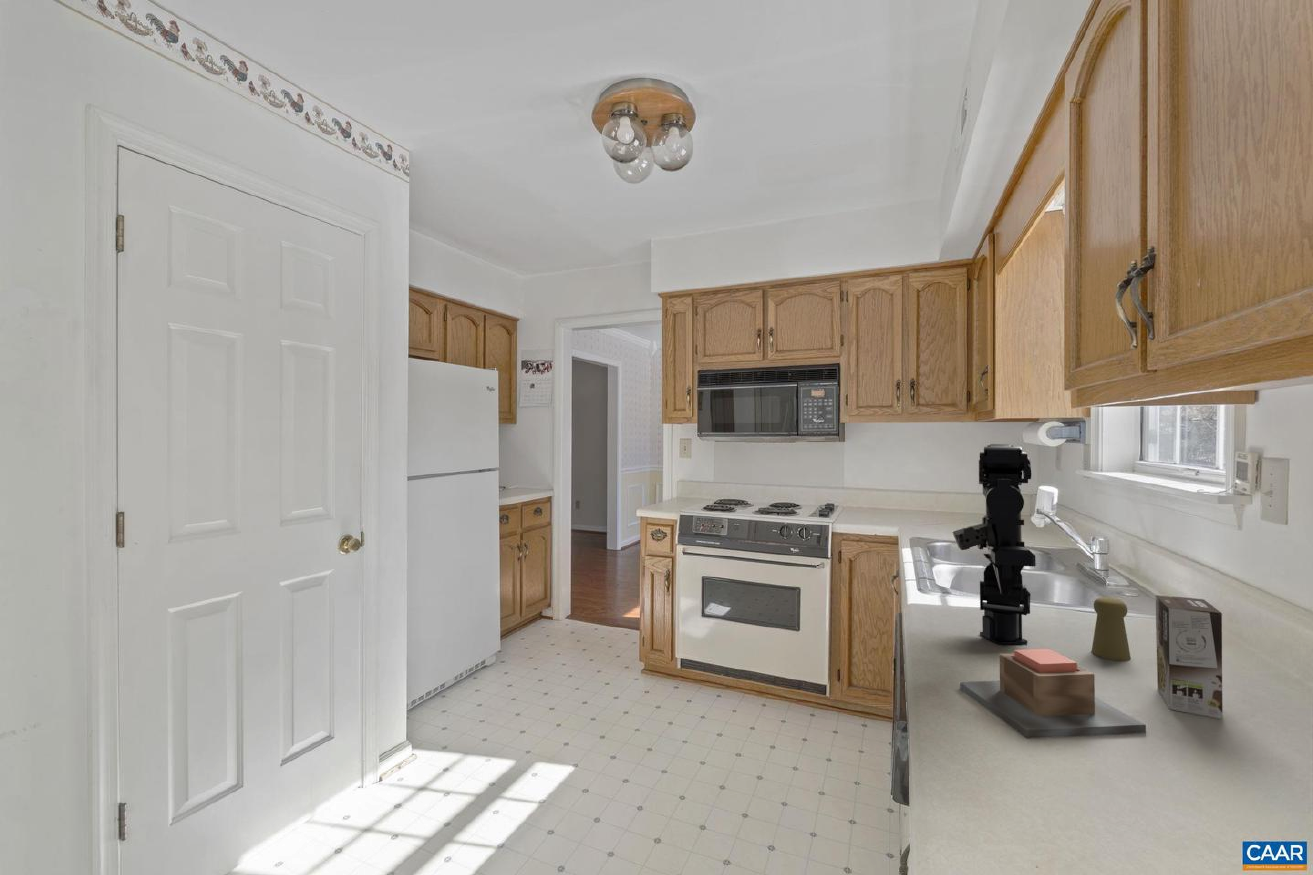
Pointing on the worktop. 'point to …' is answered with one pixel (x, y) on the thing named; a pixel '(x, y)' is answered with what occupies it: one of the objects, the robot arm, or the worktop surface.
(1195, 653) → the coffee box
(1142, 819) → the worktop surface
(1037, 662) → the pink eraser block
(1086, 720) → the stand
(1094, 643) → the cork
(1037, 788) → the worktop surface
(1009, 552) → the robot arm
